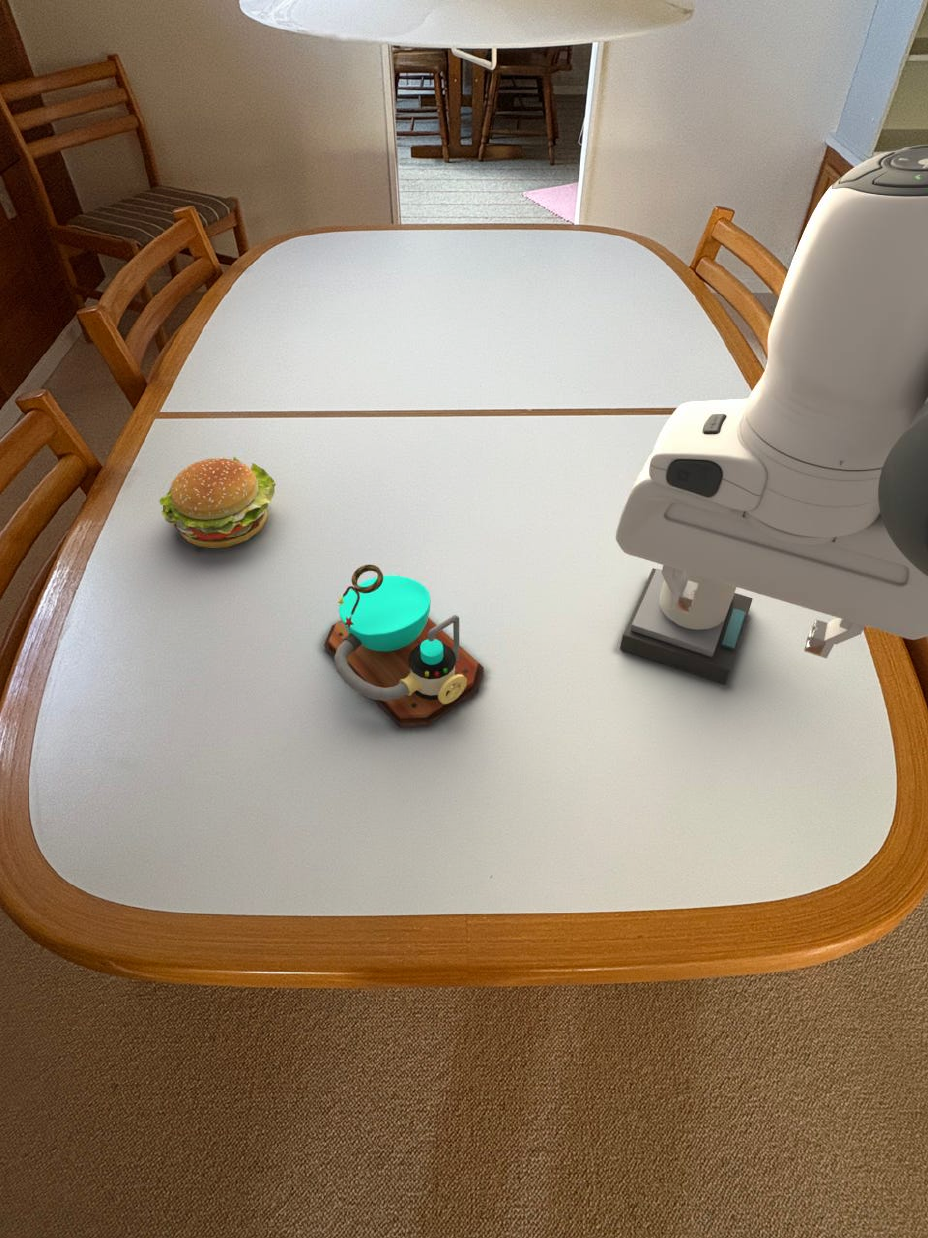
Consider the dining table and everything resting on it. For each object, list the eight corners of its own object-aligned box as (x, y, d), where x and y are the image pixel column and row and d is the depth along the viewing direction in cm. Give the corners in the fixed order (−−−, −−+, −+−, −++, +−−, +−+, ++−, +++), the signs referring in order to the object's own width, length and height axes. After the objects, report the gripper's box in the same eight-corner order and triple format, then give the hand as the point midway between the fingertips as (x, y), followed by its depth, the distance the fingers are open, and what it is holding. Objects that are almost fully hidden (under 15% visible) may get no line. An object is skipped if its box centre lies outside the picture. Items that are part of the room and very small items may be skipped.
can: (675, 641, 86) (700, 560, 77) (647, 593, 90) (666, 512, 82) (737, 627, 87) (768, 546, 78) (706, 581, 92) (731, 500, 83)
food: (219, 573, 98) (204, 524, 92) (151, 527, 104) (132, 478, 98) (301, 517, 105) (291, 468, 99) (232, 477, 111) (219, 429, 105)
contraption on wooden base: (392, 752, 80) (380, 657, 69) (297, 649, 89) (273, 551, 78) (495, 681, 86) (499, 584, 75) (396, 592, 95) (387, 493, 84)
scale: (747, 612, 93) (755, 591, 91) (724, 685, 86) (732, 664, 83) (649, 582, 97) (654, 561, 94) (619, 649, 89) (623, 628, 87)
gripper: (1011, 483, 44) (908, 644, 54) (655, 397, 50) (622, 557, 60) (1011, 552, 40) (900, 711, 50) (625, 450, 46) (596, 611, 56)
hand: (746, 626), depth 55 cm, fingers open, 8 cm apart
